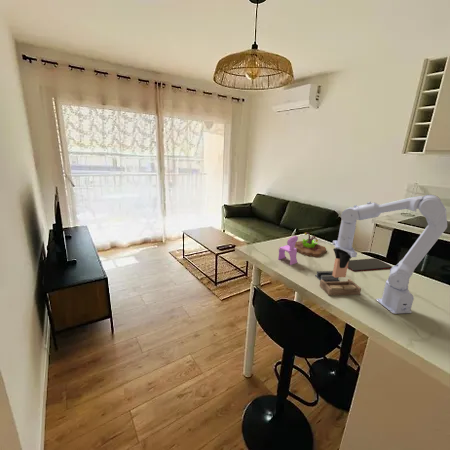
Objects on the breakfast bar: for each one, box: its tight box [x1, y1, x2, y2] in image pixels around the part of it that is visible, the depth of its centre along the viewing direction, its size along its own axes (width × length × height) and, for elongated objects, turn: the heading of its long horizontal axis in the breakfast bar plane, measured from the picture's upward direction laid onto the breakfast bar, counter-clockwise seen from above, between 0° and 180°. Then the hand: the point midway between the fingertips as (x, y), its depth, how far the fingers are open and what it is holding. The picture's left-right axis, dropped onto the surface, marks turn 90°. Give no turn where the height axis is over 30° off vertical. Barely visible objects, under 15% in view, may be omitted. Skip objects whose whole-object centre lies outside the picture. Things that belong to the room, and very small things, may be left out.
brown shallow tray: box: [319, 278, 362, 296], centre depth 108 cm, size 8×14×3 cm, turn 97°
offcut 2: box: [342, 285, 356, 290], centre depth 107 cm, size 2×5×3 cm, turn 97°
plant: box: [295, 232, 327, 258], centre depth 153 cm, size 20×20×11 cm
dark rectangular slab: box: [347, 258, 393, 273], centre depth 135 cm, size 12×2×25 cm
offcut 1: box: [329, 285, 343, 290], centre depth 106 cm, size 2×5×3 cm, turn 97°
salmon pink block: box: [332, 257, 349, 278], centre depth 108 cm, size 2×5×8 cm, turn 97°
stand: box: [314, 270, 340, 282], centre depth 118 cm, size 6×9×2 cm, turn 97°
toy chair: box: [277, 235, 299, 266], centre depth 134 cm, size 8×9×15 cm
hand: (340, 266), depth 108 cm, fingers closed on salmon pink block, 2 cm apart
